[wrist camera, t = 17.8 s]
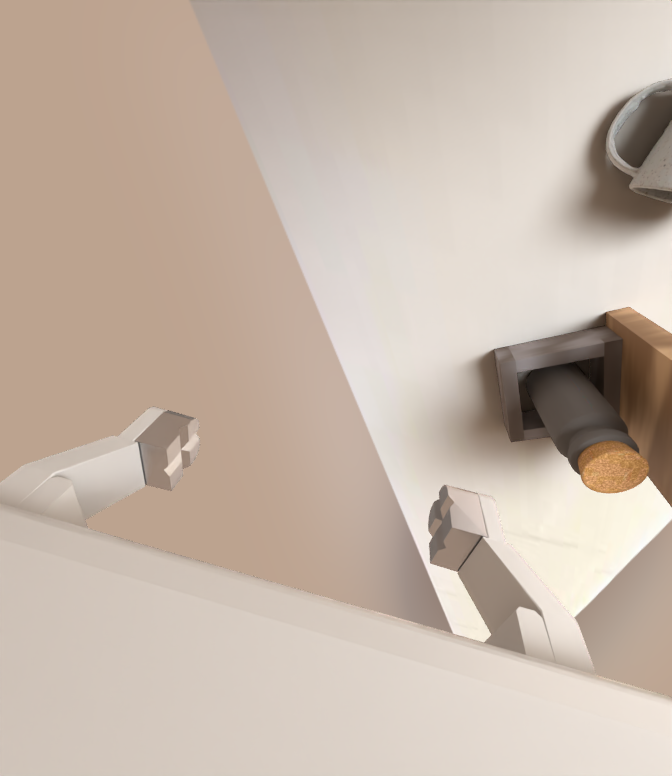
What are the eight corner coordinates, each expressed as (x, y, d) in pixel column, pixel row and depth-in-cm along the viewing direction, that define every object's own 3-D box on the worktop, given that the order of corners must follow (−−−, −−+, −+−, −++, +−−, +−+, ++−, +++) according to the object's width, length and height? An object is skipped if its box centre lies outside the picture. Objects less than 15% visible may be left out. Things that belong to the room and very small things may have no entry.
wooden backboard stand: (629, 307, 36) (822, 429, 19) (623, 416, 42) (765, 581, 25) (492, 337, 40) (550, 460, 23) (505, 433, 46) (559, 584, 29)
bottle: (539, 353, 40) (598, 438, 27) (592, 365, 39) (676, 457, 27) (516, 395, 43) (560, 488, 30) (565, 406, 43) (629, 505, 30)
